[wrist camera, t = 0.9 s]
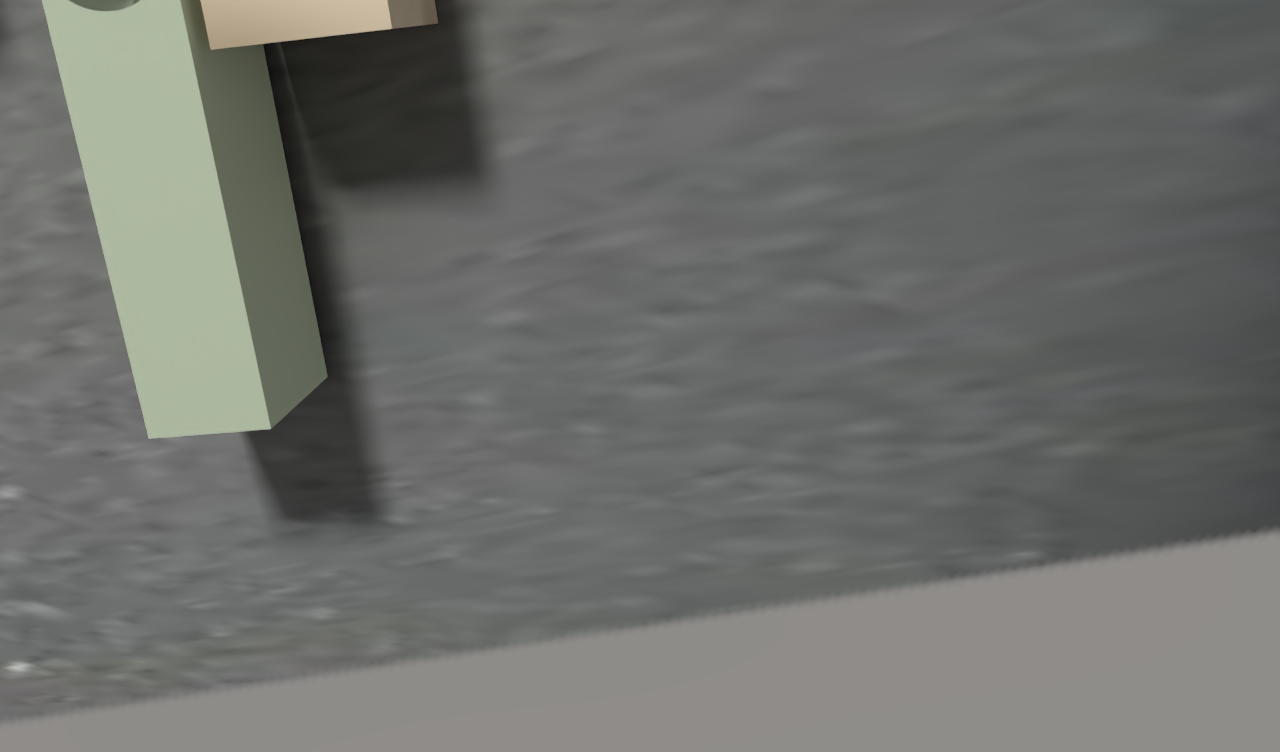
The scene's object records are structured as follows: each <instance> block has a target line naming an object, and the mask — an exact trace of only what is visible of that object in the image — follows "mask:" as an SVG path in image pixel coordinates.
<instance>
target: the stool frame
mask: <svg viewBox="0 0 1280 752" xmlns="http://www.w3.org/2000/svg"><path fill="white" fill-rule="evenodd" d="M200 1H201V5H202V10H203V15H204V20H205V25H206V30H207V34H208V39H209V44H210V49H211V50H214V49H222V48H231V47H240V46H248V45H257V44H266V43H275V42H283V41H292V40H300V39H309V38H318V37H326V36H335V35H344V34H352V33H361V32H370V31H378V30H387V29H396V28H404V27H413V26H421V25H430V24H438V19H437V12H436V6H435V0H200Z"/></svg>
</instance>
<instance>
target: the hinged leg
mask: <svg viewBox="0 0 1280 752" xmlns="http://www.w3.org/2000/svg"><path fill="white" fill-rule="evenodd" d="M42 2H43V7H44V11H45V15H46V19H47V23H48V27H49V31H50V35H51V39H52V44H53V48H54V52H55V56H56V60H57V64H58V68H59V72H60V76H61V80H62V85H63V89H64V93H65V97H66V101H67V105H68V109H69V113H70V117H71V121H72V126H73V130H74V134H75V138H76V142H77V146H78V150H79V154H80V158H81V163H82V167H83V171H84V175H85V179H86V183H87V187H88V191H89V195H90V199H91V204H92V208H93V212H94V216H95V220H96V224H97V228H98V232H99V236H100V241H101V245H102V249H103V253H104V257H105V261H106V265H107V269H108V273H109V277H110V282H111V286H112V290H113V294H114V298H115V302H116V306H117V310H118V314H119V318H120V323H121V327H122V331H123V335H124V339H125V343H126V347H127V351H128V355H129V360H130V364H131V368H132V372H133V376H134V380H135V384H136V388H137V392H138V396H139V401H140V405H141V409H142V413H143V417H144V421H145V425H146V429H147V433H148V438H149V439H151V438H164V437H177V436H190V435H203V434H216V433H228V432H241V431H254V430H267V429H272V428H273V427H274V426H275V425H276V424H277V423H278V422H279V421H280V420H282V419H283V418H284V417H285V416H286V415H287V414H288V413H289V412H290V411H291V410H292V409H293V408H295V407H296V406H297V405H298V404H299V403H300V402H301V401H302V400H303V399H304V398H305V397H306V396H308V395H309V394H310V393H311V392H312V391H313V390H314V389H315V388H316V387H317V386H318V385H319V384H321V383H322V382H323V381H324V380H325V379H326V378H327V377H328V376H327V370H326V365H325V360H324V355H323V350H322V345H321V340H320V335H319V329H318V324H317V319H316V314H315V309H314V304H313V299H312V293H311V288H310V283H309V278H308V273H307V268H306V263H305V257H304V252H303V247H302V242H301V237H300V232H299V227H298V221H297V216H296V211H295V206H294V201H293V196H292V191H291V186H290V180H289V175H288V170H287V165H286V160H285V155H284V150H283V144H282V139H281V134H280V129H279V124H278V119H277V114H276V108H275V103H274V98H273V93H272V88H271V83H270V78H269V72H268V67H267V62H266V57H265V52H264V47H263V44H257V45H248V46H240V47H231V48H222V49H214V50H211V49H210V44H209V39H208V34H207V30H206V25H205V20H204V15H203V10H202V5H201V1H200V0H42Z"/></svg>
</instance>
